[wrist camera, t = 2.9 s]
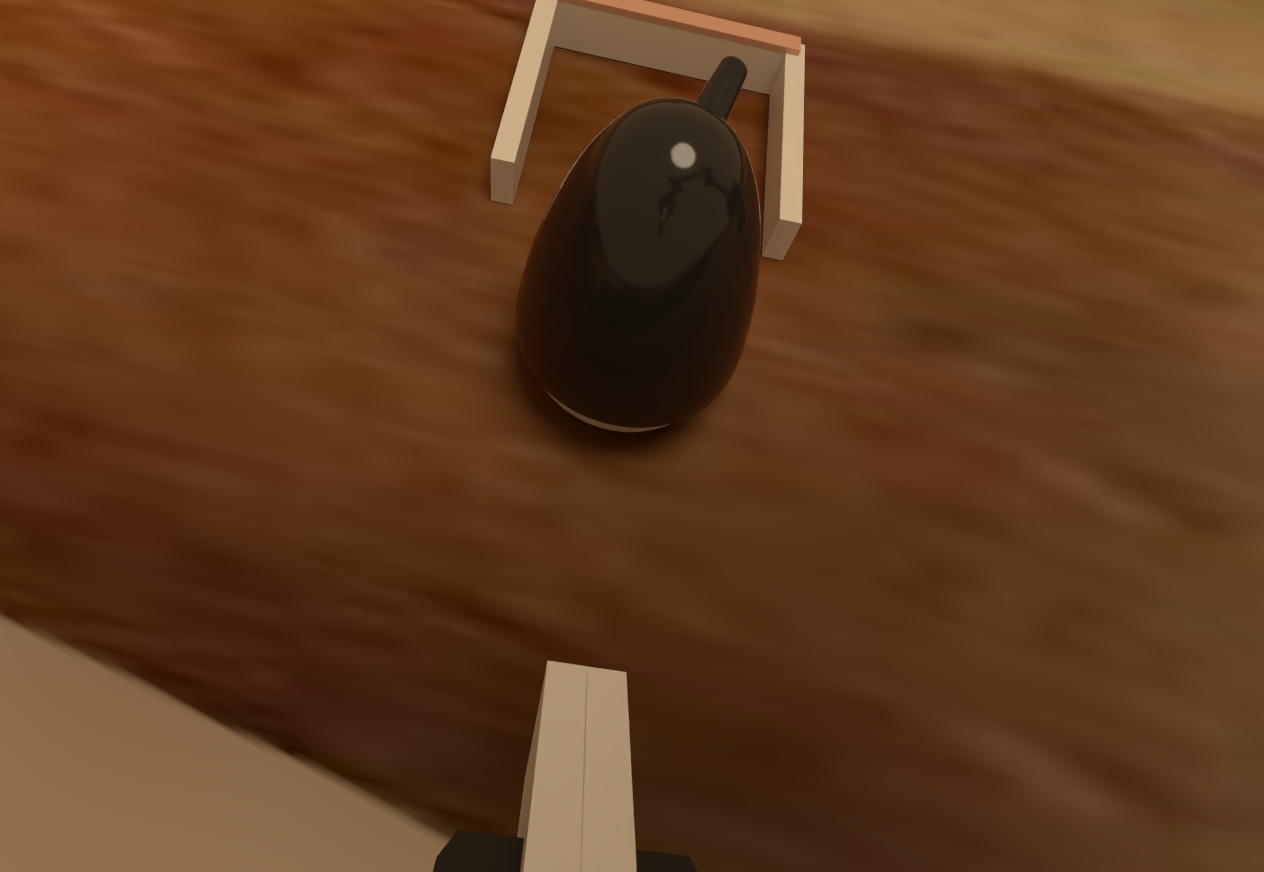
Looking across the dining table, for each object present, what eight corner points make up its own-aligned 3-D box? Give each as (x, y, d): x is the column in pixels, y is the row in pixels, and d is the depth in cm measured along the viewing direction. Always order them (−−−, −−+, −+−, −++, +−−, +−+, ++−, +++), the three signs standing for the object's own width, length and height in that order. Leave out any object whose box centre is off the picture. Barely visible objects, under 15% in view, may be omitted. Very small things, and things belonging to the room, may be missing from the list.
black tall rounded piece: (748, 339, 39) (880, 94, 26) (667, 500, 34) (777, 302, 21) (576, 253, 40) (618, -29, 26) (473, 400, 35) (459, 145, 22)
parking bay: (788, 86, 49) (807, 38, 46) (782, 260, 42) (804, 218, 39) (538, 29, 47) (541, -24, 44) (491, 200, 41) (490, 151, 38)
